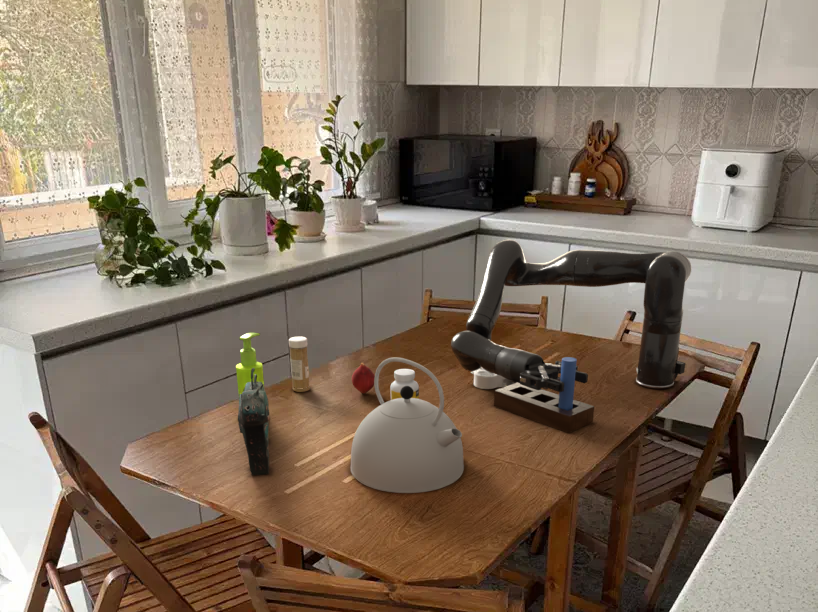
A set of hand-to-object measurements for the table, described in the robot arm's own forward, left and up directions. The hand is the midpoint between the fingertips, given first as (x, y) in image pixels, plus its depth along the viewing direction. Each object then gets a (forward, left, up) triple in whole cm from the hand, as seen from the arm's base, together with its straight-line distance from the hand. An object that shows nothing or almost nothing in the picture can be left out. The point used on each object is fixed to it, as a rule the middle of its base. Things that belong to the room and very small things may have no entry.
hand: (575, 383), depth 173 cm
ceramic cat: (+62, -33, -10) cm, 71 cm away
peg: (0, -2, -10) cm, 10 cm away
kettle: (+42, -8, -10) cm, 44 cm away
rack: (0, -9, -10) cm, 13 cm away
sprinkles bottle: (+32, -61, -10) cm, 69 cm away
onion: (+22, -48, -10) cm, 53 cm away
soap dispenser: (+51, -52, -10) cm, 73 cm away
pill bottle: (+26, -28, -10) cm, 39 cm away
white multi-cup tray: (-11, -32, -10) cm, 35 cm away
